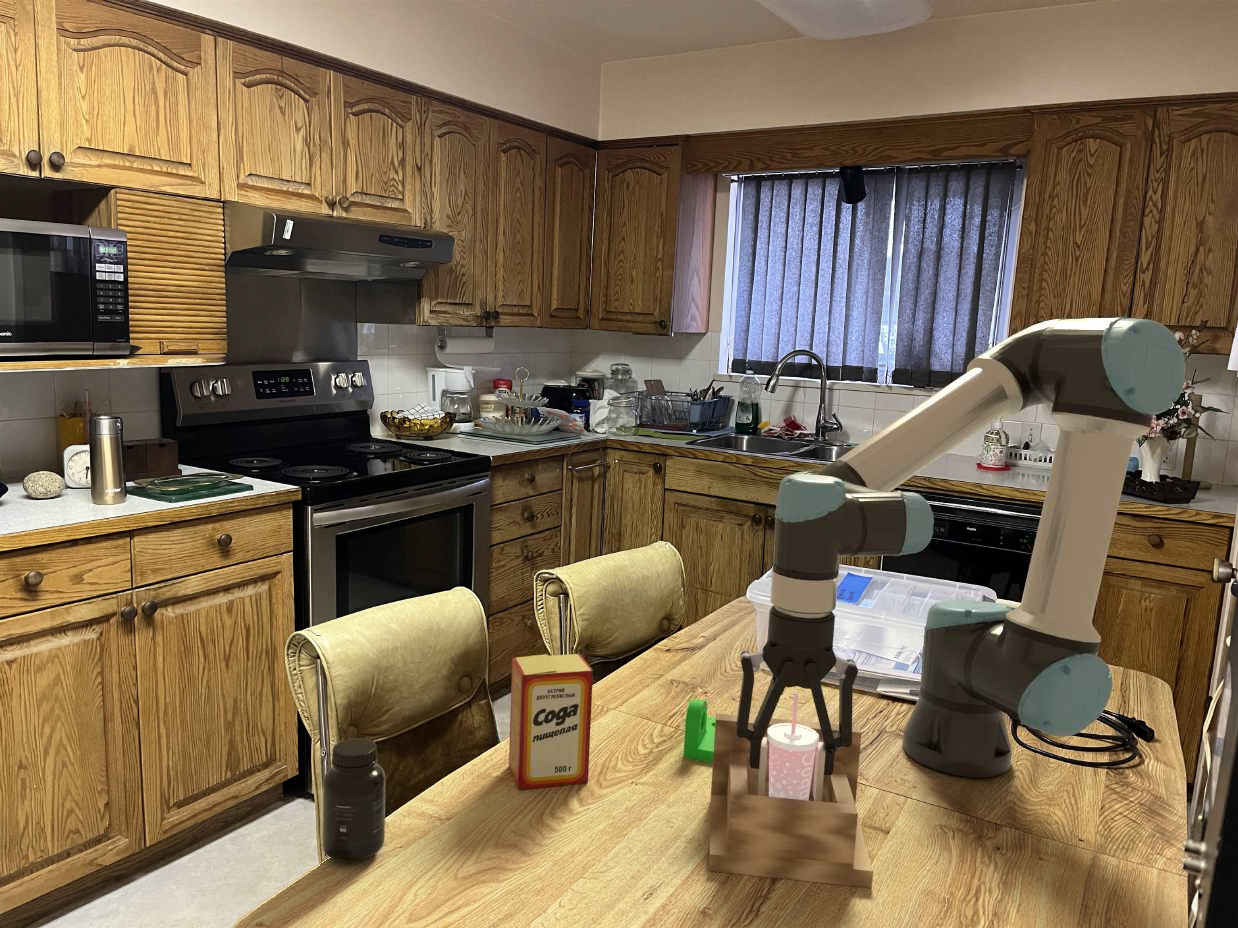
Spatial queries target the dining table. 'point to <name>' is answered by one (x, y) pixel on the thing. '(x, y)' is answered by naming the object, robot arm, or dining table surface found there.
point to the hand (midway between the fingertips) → (788, 795)
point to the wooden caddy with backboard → (785, 816)
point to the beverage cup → (791, 758)
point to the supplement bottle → (353, 802)
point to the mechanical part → (699, 732)
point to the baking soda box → (550, 720)
